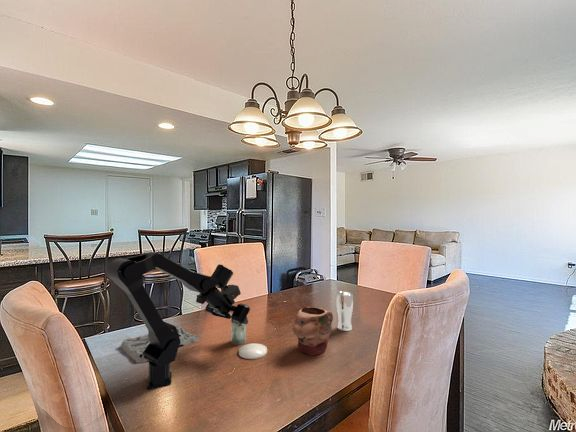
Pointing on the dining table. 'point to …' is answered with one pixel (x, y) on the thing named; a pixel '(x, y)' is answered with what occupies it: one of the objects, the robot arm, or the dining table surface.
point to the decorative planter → (313, 329)
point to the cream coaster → (253, 351)
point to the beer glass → (344, 310)
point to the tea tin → (238, 333)
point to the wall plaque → (139, 344)
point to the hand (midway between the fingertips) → (238, 320)
